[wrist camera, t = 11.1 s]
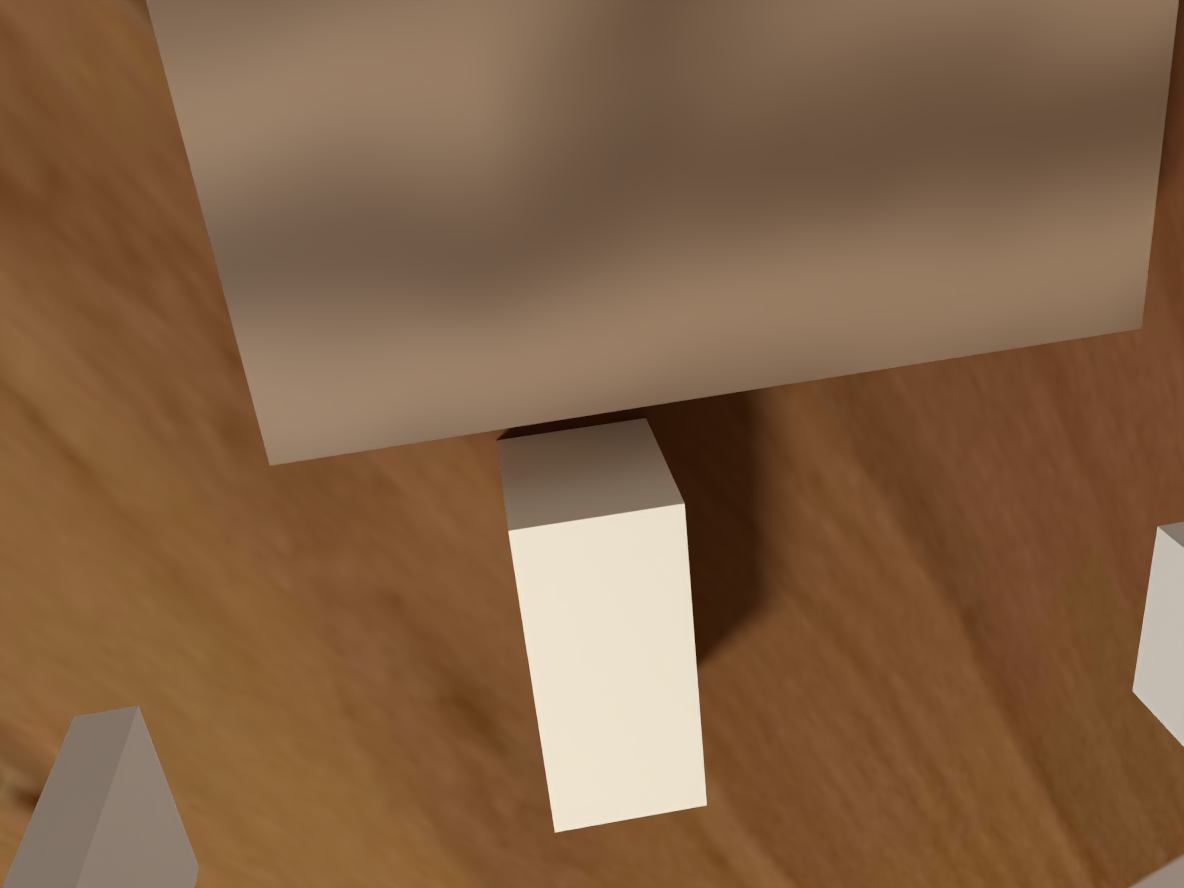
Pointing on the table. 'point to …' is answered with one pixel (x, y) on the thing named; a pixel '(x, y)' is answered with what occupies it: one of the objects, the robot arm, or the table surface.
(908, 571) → the table surface
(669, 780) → the block
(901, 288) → the wooden plank
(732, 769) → the table surface
